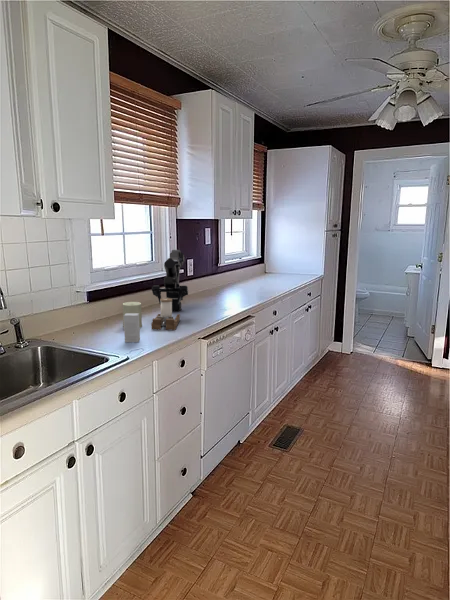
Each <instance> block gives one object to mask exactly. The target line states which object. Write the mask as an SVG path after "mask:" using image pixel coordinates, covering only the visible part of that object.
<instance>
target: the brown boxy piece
mask: <svg viewBox="0 0 450 600" xmlns="http://www.w3.org/2000/svg"><path fill="white" fill-rule="evenodd" d="M157 316H161V313H157V315H156V316H155V318H152V322H151V326H150V328H151V330H152V329H157V330H158V329H159V330H162V326H161V319H159V318H157ZM180 321H181V314H180V313H179V314H178V313H177V314H176V317H175V318H173V319H166V326H165V330H166V331H167V330H169V331H175V330H176V329H177V327H178V324H179V322H180Z"/></svg>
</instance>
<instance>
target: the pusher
mask: <svg viewBox="0 0 450 600" xmlns="http://www.w3.org/2000/svg"><path fill="white" fill-rule="evenodd" d="M156 316H157V315H156ZM157 318H159V319H161V327H166V319H174V316H172V317H169V316H157Z"/></svg>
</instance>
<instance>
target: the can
mask: <svg viewBox="0 0 450 600" xmlns="http://www.w3.org/2000/svg"><path fill="white" fill-rule="evenodd" d="M126 313H139V327H140V328H142V327H143V322H142V320H143V319H142V318H143V315H142V303H141V302H139V301H128V302H127V301H126V302H123V303H122V322H123V323H122V324H123V325H122V327H123V328H124V315H125V314H126Z"/></svg>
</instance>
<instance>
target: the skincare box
mask: <svg viewBox="0 0 450 600" xmlns="http://www.w3.org/2000/svg"><path fill="white" fill-rule="evenodd" d="M140 329H141V327H139V313H126V314H125V315H124V327H123V331H124V342H125V343H139V342H140V340H141V333H140V332H141V331H140Z"/></svg>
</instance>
